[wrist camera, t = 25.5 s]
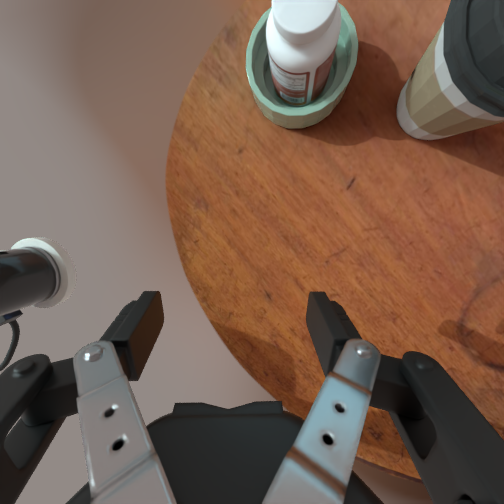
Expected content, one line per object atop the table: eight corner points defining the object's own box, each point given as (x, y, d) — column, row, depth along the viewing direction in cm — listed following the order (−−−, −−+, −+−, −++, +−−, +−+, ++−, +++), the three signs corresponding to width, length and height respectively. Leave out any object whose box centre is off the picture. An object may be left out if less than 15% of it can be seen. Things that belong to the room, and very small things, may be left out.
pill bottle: (317, 37, 27) (335, -81, 16) (335, 93, 27) (364, 16, 16) (265, 65, 28) (248, -27, 17) (283, 117, 29) (278, 60, 18)
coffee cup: (431, 23, 25) (625, -234, 11) (516, 92, 25) (831, -74, 10) (353, 118, 28) (423, 16, 13) (430, 181, 28) (585, 147, 13)
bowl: (283, 148, 30) (282, 137, 25) (235, 71, 29) (226, 46, 25) (365, 89, 27) (379, 66, 23) (314, 4, 27) (319, -37, 22)
